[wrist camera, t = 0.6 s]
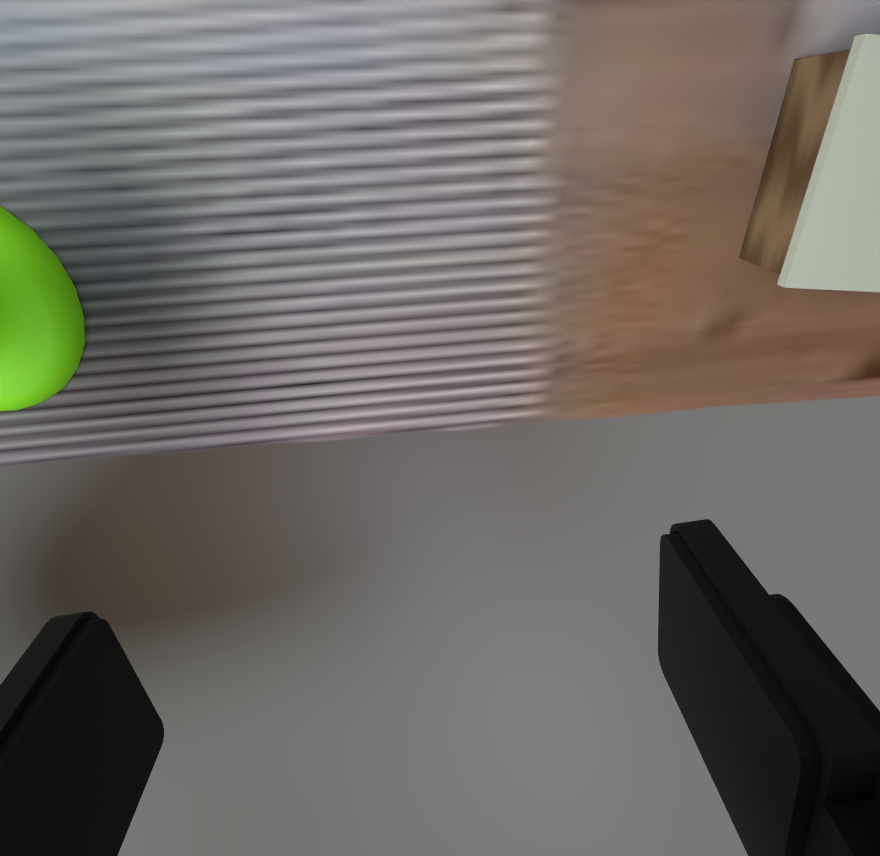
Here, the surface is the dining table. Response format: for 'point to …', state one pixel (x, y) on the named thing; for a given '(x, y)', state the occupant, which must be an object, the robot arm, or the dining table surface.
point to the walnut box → (792, 157)
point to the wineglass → (35, 318)
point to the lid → (843, 188)
